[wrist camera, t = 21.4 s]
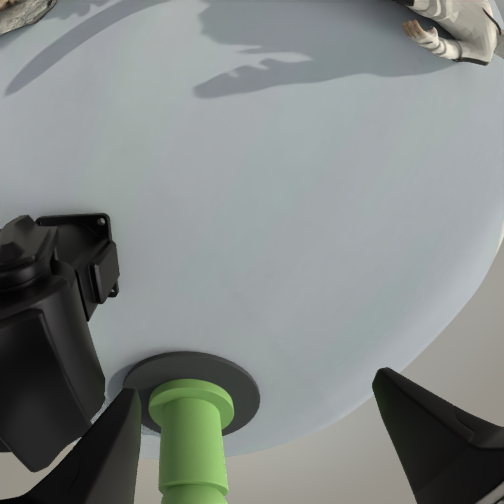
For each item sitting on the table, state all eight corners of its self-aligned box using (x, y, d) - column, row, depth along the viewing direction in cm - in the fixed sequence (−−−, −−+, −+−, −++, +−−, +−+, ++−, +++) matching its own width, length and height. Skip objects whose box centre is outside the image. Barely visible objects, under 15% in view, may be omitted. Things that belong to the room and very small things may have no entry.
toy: (133, 392, 24) (115, 527, 11) (206, 367, 24) (219, 524, 11) (179, 434, 28) (182, 548, 14) (246, 414, 28) (271, 538, 14)
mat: (139, 433, 28) (138, 437, 27) (108, 348, 23) (107, 353, 22) (255, 433, 30) (256, 436, 30) (264, 348, 25) (265, 353, 25)
